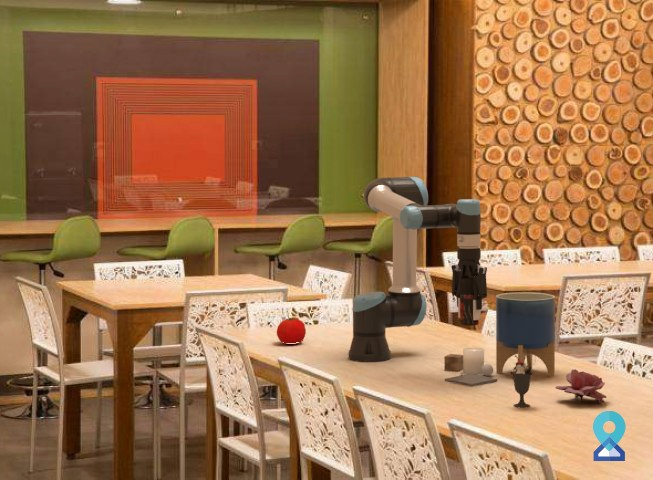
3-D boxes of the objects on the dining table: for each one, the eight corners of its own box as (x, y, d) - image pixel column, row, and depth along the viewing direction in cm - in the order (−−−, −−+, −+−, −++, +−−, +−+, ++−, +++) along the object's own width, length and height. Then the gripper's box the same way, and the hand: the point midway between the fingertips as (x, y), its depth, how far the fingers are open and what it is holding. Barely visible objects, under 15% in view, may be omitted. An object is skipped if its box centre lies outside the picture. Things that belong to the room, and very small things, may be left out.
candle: (458, 372, 420) (458, 349, 419) (473, 370, 424) (472, 346, 424) (474, 375, 414) (474, 351, 414) (488, 372, 419) (488, 349, 418)
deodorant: (477, 325, 400) (477, 279, 399) (459, 325, 402) (458, 279, 400) (479, 323, 406) (479, 277, 405) (461, 322, 407) (460, 277, 406)
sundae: (507, 403, 372) (508, 354, 370) (530, 403, 372) (530, 353, 371) (513, 408, 365) (513, 358, 364) (535, 408, 366) (535, 357, 364)
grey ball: (478, 376, 414) (478, 364, 413) (486, 374, 416) (486, 362, 416) (487, 377, 411) (487, 365, 410) (495, 376, 413) (495, 364, 413)
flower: (575, 400, 362) (580, 366, 364) (546, 397, 376) (552, 364, 377) (616, 410, 368) (622, 376, 369) (587, 406, 381) (592, 374, 383)
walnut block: (444, 370, 424) (444, 356, 423) (450, 368, 428) (450, 353, 428) (458, 372, 421) (458, 357, 421) (463, 369, 426) (463, 355, 425)
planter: (558, 370, 421) (559, 293, 419) (549, 381, 403) (550, 301, 401) (502, 367, 427) (502, 291, 425) (490, 378, 409) (490, 298, 407)
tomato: (312, 342, 482) (312, 316, 481) (294, 347, 471) (293, 321, 470) (288, 340, 488) (288, 314, 487) (270, 345, 477) (269, 319, 476)
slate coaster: (444, 381, 406) (444, 378, 406) (470, 376, 414) (470, 373, 414) (472, 386, 397) (472, 384, 397) (497, 381, 405) (497, 378, 405)
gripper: (439, 246, 407) (440, 317, 409) (482, 249, 392) (483, 322, 394) (455, 245, 412) (456, 314, 413) (498, 248, 397) (499, 320, 399)
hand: (469, 318), depth 404 cm, fingers closed on deodorant, 6 cm apart
